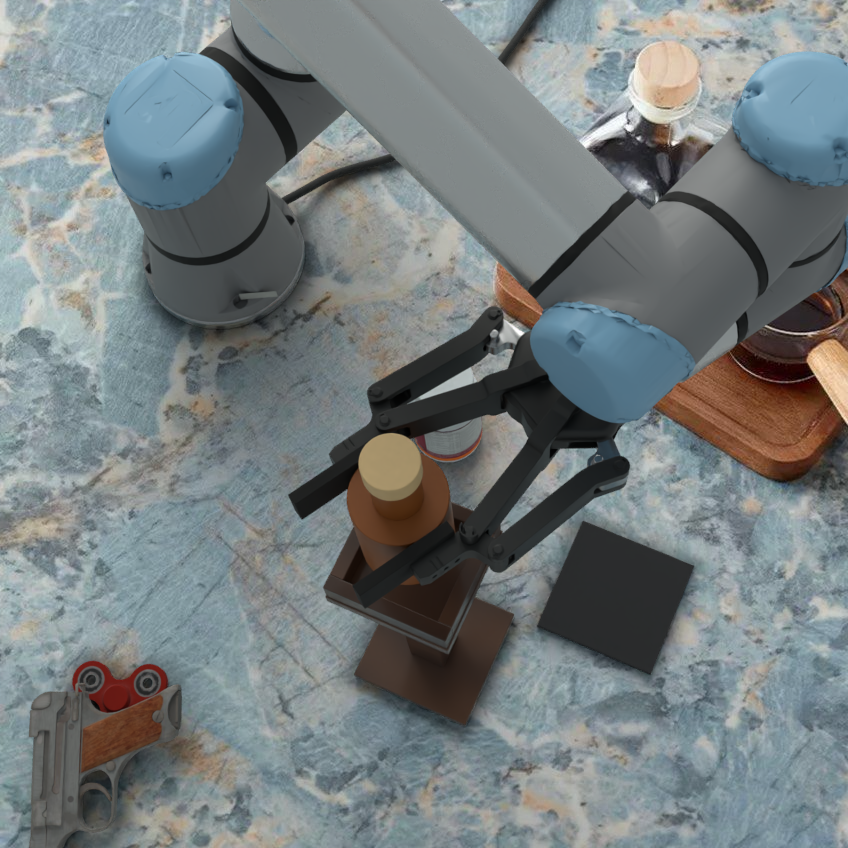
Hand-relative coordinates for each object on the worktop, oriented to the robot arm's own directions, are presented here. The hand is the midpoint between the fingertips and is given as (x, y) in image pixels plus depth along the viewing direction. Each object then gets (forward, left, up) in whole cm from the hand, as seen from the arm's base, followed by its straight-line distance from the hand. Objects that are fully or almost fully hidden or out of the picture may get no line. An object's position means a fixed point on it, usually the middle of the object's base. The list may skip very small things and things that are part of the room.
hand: (326, 551), depth 75 cm
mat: (-14, +15, -35) cm, 41 cm away
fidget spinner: (+10, -20, -35) cm, 42 cm away
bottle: (-4, +3, -7) cm, 9 cm away
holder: (-4, +3, -35) cm, 35 cm away
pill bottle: (-22, -4, -35) cm, 42 cm away
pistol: (+15, -11, -34) cm, 39 cm away
